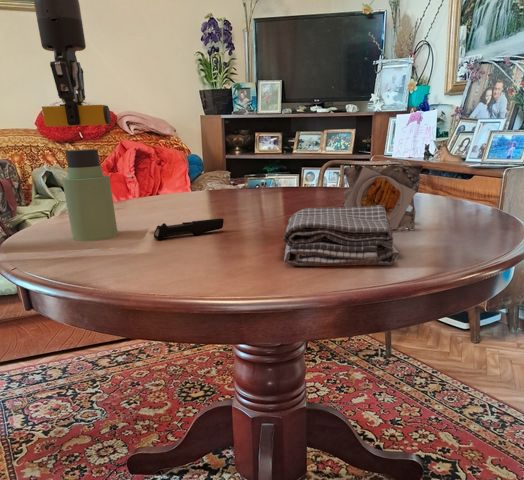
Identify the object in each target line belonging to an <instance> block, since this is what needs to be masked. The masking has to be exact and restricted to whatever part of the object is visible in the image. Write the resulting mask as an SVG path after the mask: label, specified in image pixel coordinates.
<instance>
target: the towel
mask: <svg viewBox="0 0 524 480" xmlns="http://www.w3.org/2000/svg"><path fill="white" fill-rule="evenodd" d="M393 234H394V233H393V229H391V227H390V222H389V220H388V218H387V214H386V210H385V208H384V206H383V205H376V206H366V207H365V206H363V207H342V206H340V207H338V206H337V207H335V206H334V207H333V206H332V207H307V208H306V207H305V208H302V209H299V210H298V211H296V212H294V213H292V215H291V216H290V217H289V218H288V220H287V225H286V227H285V230H284V234H283V236H282V240H283V242H284V243H285V244H286V246H285V250H284V257H283V261H284V263H285V264H287V265H292V266H297V267H324V266H325V267H328V266H329V267H330V266H331V267H332V266H333V267H336V266H339V267H340V266H356V265H357V266H363V265H365V266H366V265H371V266H373V265H374V266H375V265H376V266H377V265H381V266H382V265H383V266H391V265H394V264H395V263H396V260H397V259H398V257H399V251H398V250H397V249H396V248H395V247H394V245H393V244H394V237H393Z"/></svg>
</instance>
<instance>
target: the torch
mask: <svg viewBox="0 0 524 480" xmlns="http://www.w3.org/2000/svg"><path fill="white" fill-rule="evenodd" d="M64 104H65V103H63V104H59V105H49V106H47V105H46V106H41V111H42V116H43V123H44V126H45V127H47V128H52V127H80V126H108V125H111V122H112V120H111V119H112V118H111V111H110V107H109V106H108V105H106V104H83V105H78V110H79V117H80V125H68V122H67V117H66V111H65V105H64Z"/></svg>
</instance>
